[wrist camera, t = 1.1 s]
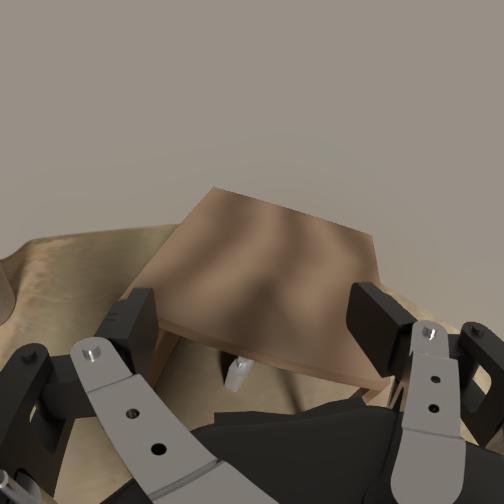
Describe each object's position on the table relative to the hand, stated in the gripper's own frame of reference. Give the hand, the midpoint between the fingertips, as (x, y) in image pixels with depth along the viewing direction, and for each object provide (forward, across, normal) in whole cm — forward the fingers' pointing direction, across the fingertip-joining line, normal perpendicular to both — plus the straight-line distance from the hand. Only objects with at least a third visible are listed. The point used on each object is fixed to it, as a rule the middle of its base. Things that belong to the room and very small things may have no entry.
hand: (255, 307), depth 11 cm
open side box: (+20, -2, +18) cm, 27 cm away
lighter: (+18, -1, +19) cm, 26 cm away
